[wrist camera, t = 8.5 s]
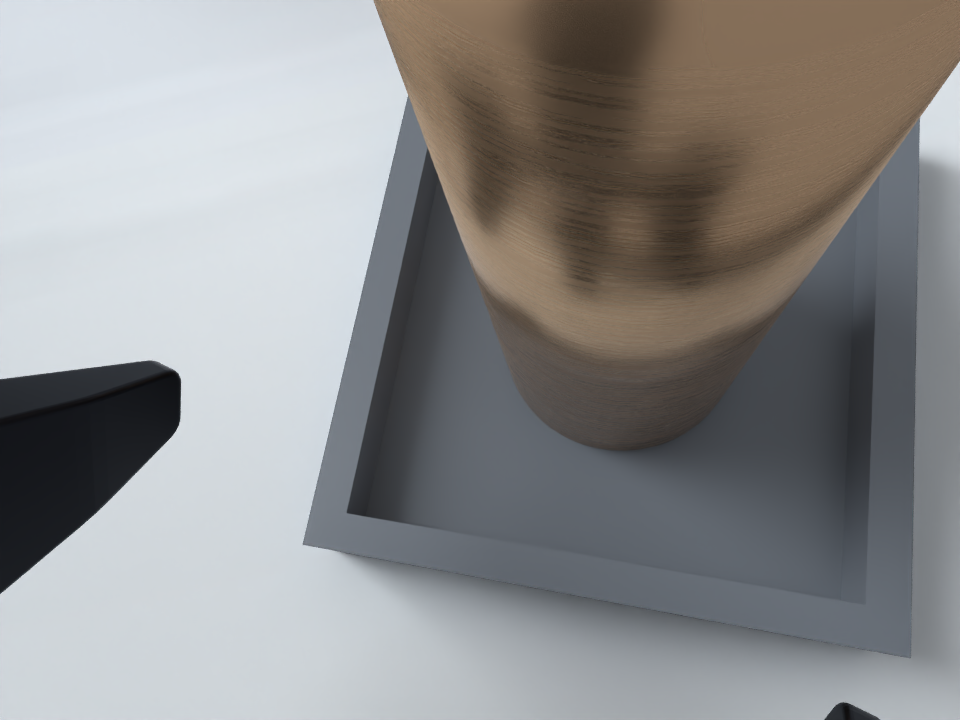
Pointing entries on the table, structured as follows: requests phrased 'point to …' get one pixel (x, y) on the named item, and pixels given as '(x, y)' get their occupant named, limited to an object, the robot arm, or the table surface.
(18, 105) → the table surface
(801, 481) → the tray
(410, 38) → the can
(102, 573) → the table surface
